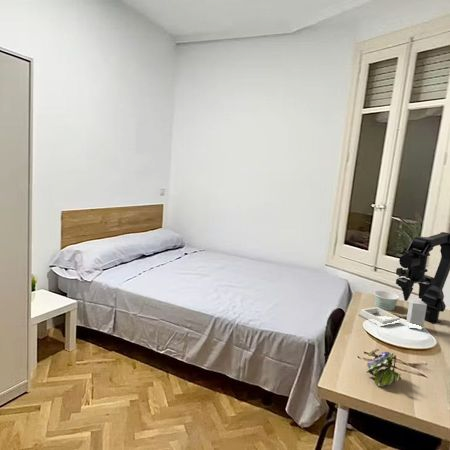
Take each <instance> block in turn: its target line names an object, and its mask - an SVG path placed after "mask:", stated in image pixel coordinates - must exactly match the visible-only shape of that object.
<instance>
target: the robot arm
mask: <svg viewBox="0 0 450 450" xmlns="http://www.w3.org/2000/svg"><path fill="white" fill-rule="evenodd" d="M408 245H409V246H408V247H407V248H406V250H405V251H404V254H403V255H401V256H400V257H399V260H398V262H399V265H400V267H396V270H395V274H396V276H398V277H397V279H395V284H396V285H397V286H398V287H400V288H401V291H402V295H403V299H404V301H405V302H407V301H408V300H409V299H410V296H411V294H412V292H413V290H414V284H418V286H419V288H418V299H420V301H423V302H424V303H425V304H427V308H426V314H425V320H424V321H426V322H429V323H431V324H436V323H441V322H442V320H441V319H439V316H440V312H442V313H444V311H446V307H447V305H446V304H445V301H444V298H445V295H444V290H443V289H444V286H445V283H446V282H447V278H448V276H449V274H450V232H446V231H445V232H444V231H443V232H440V233H437V234H434V235H430V236H416V237H414V238H413V239H412V240H411V242H410V243H409V244H408ZM437 246H438V247H439V246H440V250H439V252H440V255H441V259H440V261H439V264H438V266H437V269H436V271H435V274H434V277H432V276H430V275H426V273H427V272H428V269H426V268H427V261H428V257H430V256H431V253H430V252H431V251H433V250H434V247H437Z"/></svg>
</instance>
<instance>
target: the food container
mask: <svg viewBox="0 0 450 450" xmlns="http://www.w3.org/2000/svg"><path fill="white" fill-rule="evenodd" d="M373 295H374V306H375V307H378V308H380V309H382V310H384V311H394V310H395V309H396V305H397V303H398V300H399V299H400V296H399V295H398V294H396V293H394V292H390V291H386V290H375V291H373Z"/></svg>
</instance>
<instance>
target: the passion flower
mask: <svg viewBox="0 0 450 450" xmlns="http://www.w3.org/2000/svg"><path fill="white" fill-rule="evenodd" d="M379 350H380V348H376V349H373V350H371V351H370V352H369V353H368V354H367V356H373V355H374V357H373V358H371V359H370V361H369V362H367V365H366V367H368V369H367V370H365V371H366V373H371V374H372V373H373V375H375V376H374V378H375V379H374V384H375V385H376V387H378V386H379V383H380V382H381V384H380V386H381V387H383V386H386V385H387V386H389V385H391V384H392V383H393V382H394V384H395V383H396V382H399V381H402V377H401V376H402V374H401V373H399V372H396V371H395V368H396V361H397V355H396V353H394V352H391V353H390V352H389V351H383V352H381V353H380V354H376V352H378V351H379ZM393 360H394V362H393ZM392 366H393V367H392ZM383 367H384V368H383ZM391 368H392V369H391Z"/></svg>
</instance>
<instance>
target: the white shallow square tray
mask: <svg viewBox="0 0 450 450" xmlns="http://www.w3.org/2000/svg"><path fill="white" fill-rule="evenodd" d="M381 315H382V316H387V317H392V318H391V319H385V320H382V319H380V318H378V317H376V316H381ZM358 317H361V318H363V319H364V320H365V321H368V319H375V320H377V321H379V322H380V323H382V324H387V323H392V322H394V321H397V320H401V318H400V317H399V316H396V315H394V314H392V313H390V312H388V311H387V310H383V309H380V308H378V307H376V306H375V307H374V306H373V307H368V308H363V309H362V308H361V309H360V311H359V314H358Z"/></svg>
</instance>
